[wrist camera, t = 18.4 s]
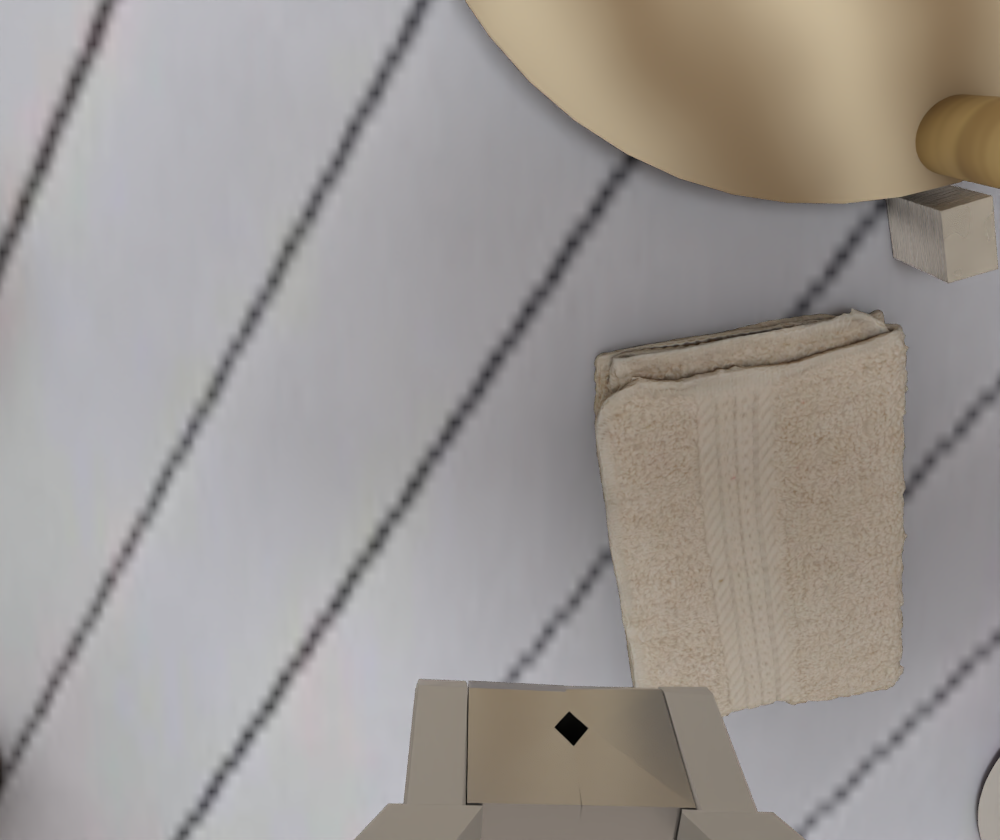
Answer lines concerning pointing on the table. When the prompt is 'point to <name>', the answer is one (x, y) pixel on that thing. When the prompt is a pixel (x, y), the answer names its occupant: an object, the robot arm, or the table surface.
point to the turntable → (774, 88)
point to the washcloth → (759, 507)
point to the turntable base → (944, 232)
